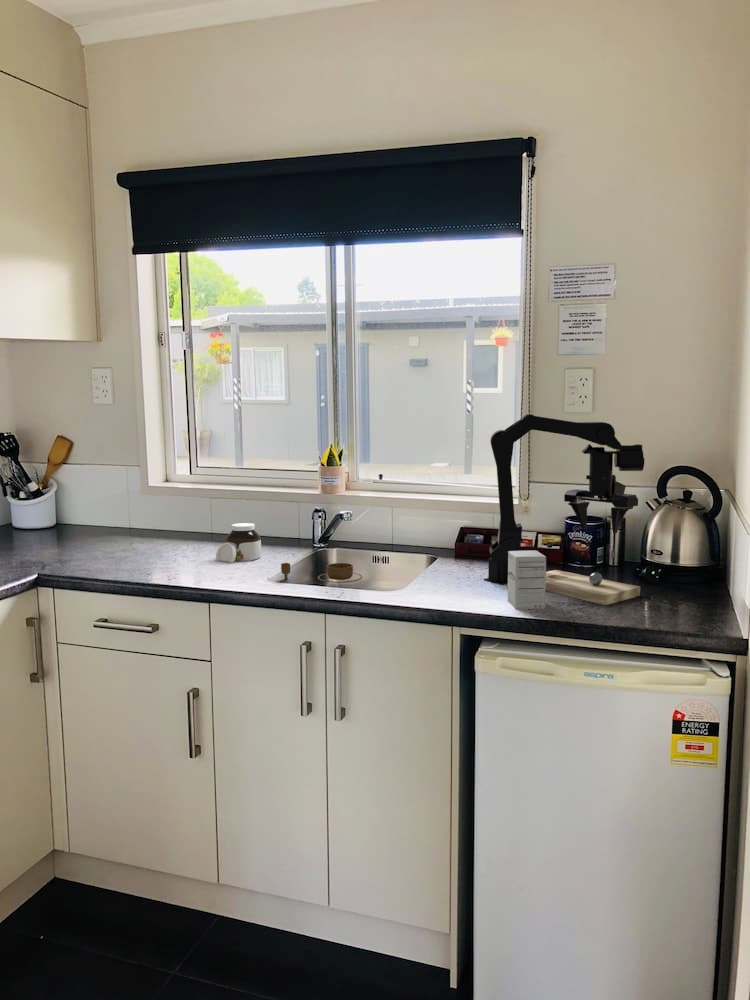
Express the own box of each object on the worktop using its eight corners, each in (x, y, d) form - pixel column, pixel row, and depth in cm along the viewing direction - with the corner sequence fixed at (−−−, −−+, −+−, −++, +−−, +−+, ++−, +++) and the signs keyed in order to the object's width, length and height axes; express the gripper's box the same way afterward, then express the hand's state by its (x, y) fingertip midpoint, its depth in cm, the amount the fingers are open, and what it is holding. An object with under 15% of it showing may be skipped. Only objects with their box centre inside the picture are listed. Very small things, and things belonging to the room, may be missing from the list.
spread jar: (264, 561, 250) (263, 523, 248) (252, 568, 239) (251, 529, 237) (226, 560, 252) (225, 522, 250) (212, 567, 241) (211, 528, 239)
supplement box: (506, 602, 198) (507, 550, 196) (537, 601, 199) (538, 549, 197) (514, 610, 191) (515, 556, 189) (545, 609, 191) (547, 555, 190)
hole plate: (605, 606, 194) (605, 595, 194) (520, 586, 214) (520, 577, 214) (639, 596, 203) (640, 586, 202) (555, 578, 223) (555, 569, 222)
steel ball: (596, 587, 202) (597, 574, 202) (586, 585, 204) (586, 572, 204) (604, 585, 204) (605, 572, 204) (594, 583, 206) (594, 570, 206)
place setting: (348, 592, 212) (348, 569, 211) (278, 587, 219) (277, 565, 218) (371, 577, 228) (371, 556, 228) (305, 573, 235) (304, 553, 234)
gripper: (650, 471, 210) (648, 532, 212) (588, 467, 224) (587, 524, 226) (626, 474, 203) (624, 537, 205) (563, 469, 217) (562, 528, 219)
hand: (599, 531), depth 214 cm, fingers open, 9 cm apart
